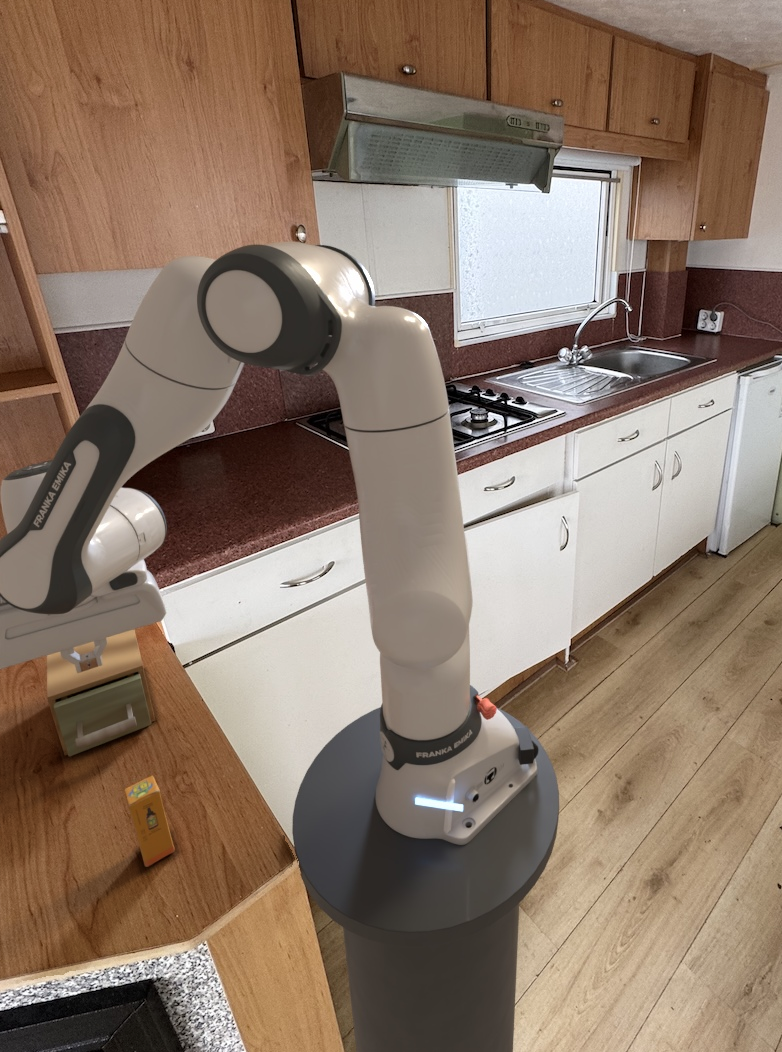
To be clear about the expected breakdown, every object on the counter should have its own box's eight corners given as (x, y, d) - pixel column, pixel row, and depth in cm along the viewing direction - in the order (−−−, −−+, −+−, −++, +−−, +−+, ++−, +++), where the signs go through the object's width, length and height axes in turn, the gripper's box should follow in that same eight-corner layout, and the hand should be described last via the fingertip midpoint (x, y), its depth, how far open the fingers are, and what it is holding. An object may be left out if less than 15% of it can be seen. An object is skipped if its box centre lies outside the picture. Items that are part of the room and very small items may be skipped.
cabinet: (155, 720, 91) (142, 665, 87) (64, 755, 84) (46, 697, 80) (143, 669, 102) (131, 618, 98) (62, 696, 95) (46, 643, 91)
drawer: (156, 745, 85) (144, 697, 82) (69, 781, 79) (54, 730, 76) (140, 675, 99) (130, 632, 96) (66, 700, 93) (52, 655, 90)
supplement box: (169, 832, 73) (155, 772, 70) (175, 852, 71) (161, 791, 68) (139, 848, 71) (123, 787, 68) (144, 869, 69) (128, 807, 66)
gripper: (-42, 619, 67) (-10, 713, 72) (158, 568, 79) (175, 652, 83) (-37, 593, 72) (-7, 684, 76) (152, 549, 83) (168, 630, 88)
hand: (89, 667), depth 80 cm, fingers closed
